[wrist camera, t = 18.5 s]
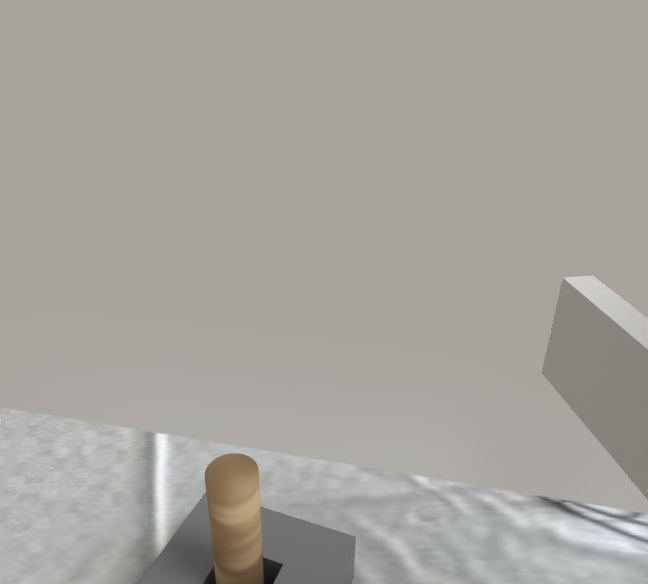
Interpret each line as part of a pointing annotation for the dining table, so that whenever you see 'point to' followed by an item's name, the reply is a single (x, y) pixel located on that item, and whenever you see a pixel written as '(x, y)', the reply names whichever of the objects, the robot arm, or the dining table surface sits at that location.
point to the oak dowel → (235, 519)
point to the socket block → (277, 546)
